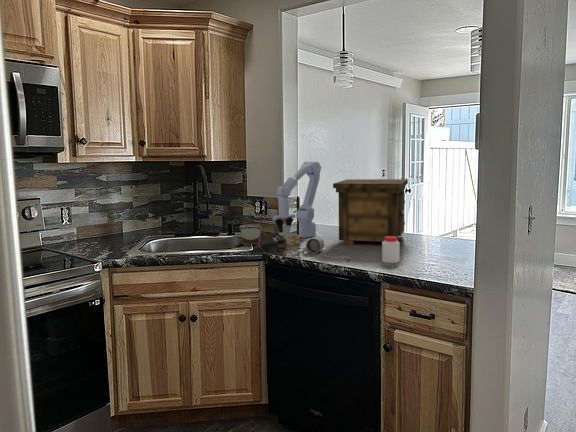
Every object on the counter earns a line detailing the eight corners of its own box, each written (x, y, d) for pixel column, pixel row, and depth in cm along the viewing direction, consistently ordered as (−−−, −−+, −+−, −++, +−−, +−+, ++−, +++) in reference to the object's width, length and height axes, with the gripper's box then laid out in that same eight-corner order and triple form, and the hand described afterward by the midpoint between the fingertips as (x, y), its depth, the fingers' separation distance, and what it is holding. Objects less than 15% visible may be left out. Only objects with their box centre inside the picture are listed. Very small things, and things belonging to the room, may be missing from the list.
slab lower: (294, 243, 265) (293, 238, 265) (299, 244, 261) (299, 240, 261) (286, 244, 262) (286, 239, 262) (292, 245, 258) (292, 241, 258)
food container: (263, 241, 269) (263, 224, 268) (262, 243, 263) (261, 225, 262) (242, 241, 270) (241, 224, 269) (239, 243, 264) (239, 226, 263)
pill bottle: (379, 259, 220) (379, 235, 219) (396, 258, 221) (396, 235, 219) (384, 263, 212) (384, 238, 211) (401, 262, 213) (402, 238, 212)
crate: (347, 234, 288) (346, 179, 284) (407, 236, 277) (407, 179, 273) (333, 245, 255) (333, 183, 251) (401, 248, 244) (401, 183, 240)
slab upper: (293, 238, 265) (293, 234, 264) (299, 239, 261) (299, 235, 260) (286, 240, 262) (286, 235, 261) (292, 241, 258) (292, 236, 257)
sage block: (285, 233, 275) (285, 224, 275) (290, 234, 272) (289, 225, 271) (279, 234, 273) (278, 225, 272) (283, 235, 269) (283, 226, 268)
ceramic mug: (325, 250, 242) (324, 235, 241) (320, 254, 234) (320, 238, 233) (305, 250, 246) (304, 235, 245) (300, 253, 238) (299, 238, 237)
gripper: (289, 205, 278) (290, 229, 280) (269, 208, 269) (269, 232, 271) (297, 206, 272) (297, 230, 274) (276, 209, 263) (277, 233, 265)
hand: (284, 231), depth 272 cm, fingers closed on sage block, 4 cm apart
